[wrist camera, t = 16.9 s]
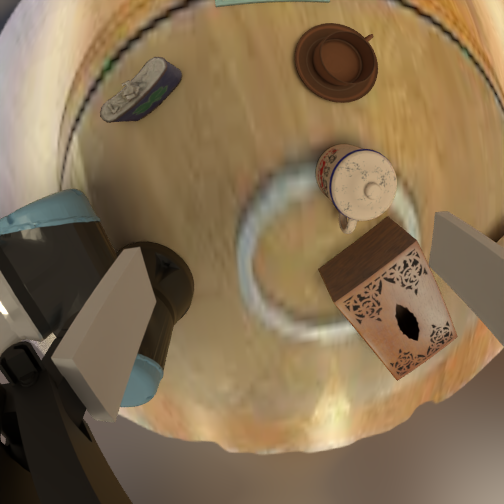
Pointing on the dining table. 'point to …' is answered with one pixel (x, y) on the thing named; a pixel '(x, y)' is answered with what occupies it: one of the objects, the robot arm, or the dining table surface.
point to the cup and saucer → (336, 62)
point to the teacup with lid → (356, 183)
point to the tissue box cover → (390, 297)
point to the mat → (258, 1)
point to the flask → (142, 92)
